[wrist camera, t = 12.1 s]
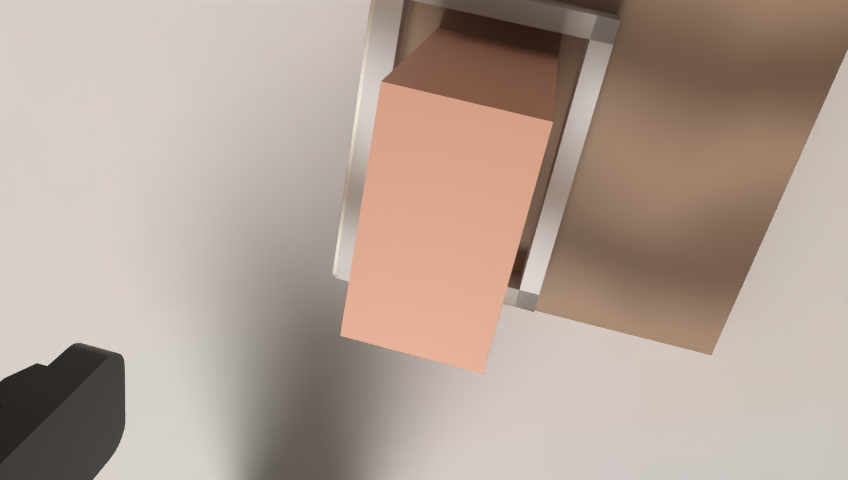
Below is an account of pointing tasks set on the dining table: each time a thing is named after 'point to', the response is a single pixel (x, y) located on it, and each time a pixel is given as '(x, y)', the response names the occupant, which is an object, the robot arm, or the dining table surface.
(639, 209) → the brown wooden tray
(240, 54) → the dining table surface
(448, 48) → the carton
